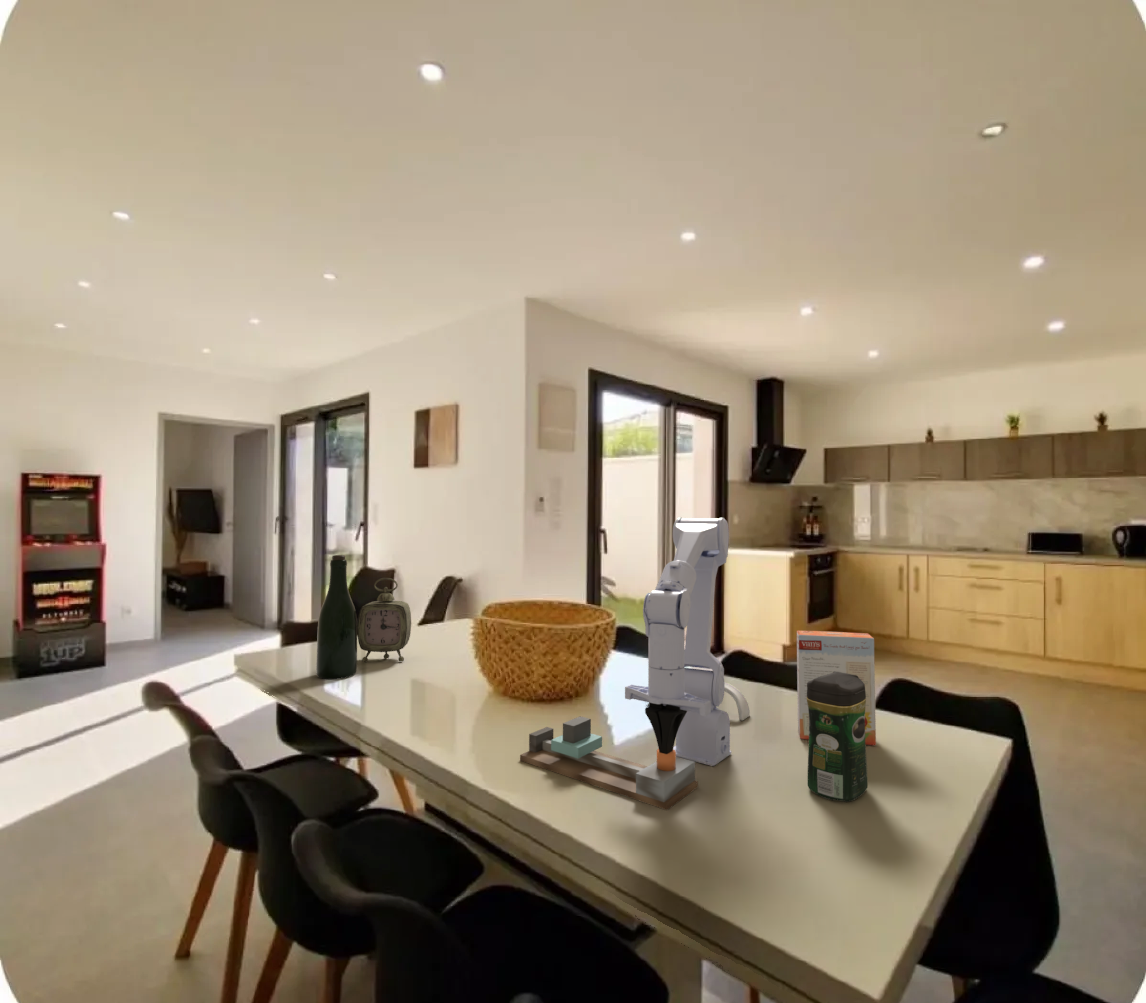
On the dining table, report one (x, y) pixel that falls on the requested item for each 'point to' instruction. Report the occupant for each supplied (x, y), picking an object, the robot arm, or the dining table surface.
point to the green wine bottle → (337, 627)
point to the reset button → (666, 761)
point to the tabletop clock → (384, 624)
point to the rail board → (615, 772)
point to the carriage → (576, 738)
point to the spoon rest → (738, 701)
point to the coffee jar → (837, 736)
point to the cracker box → (835, 669)
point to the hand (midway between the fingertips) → (666, 751)
